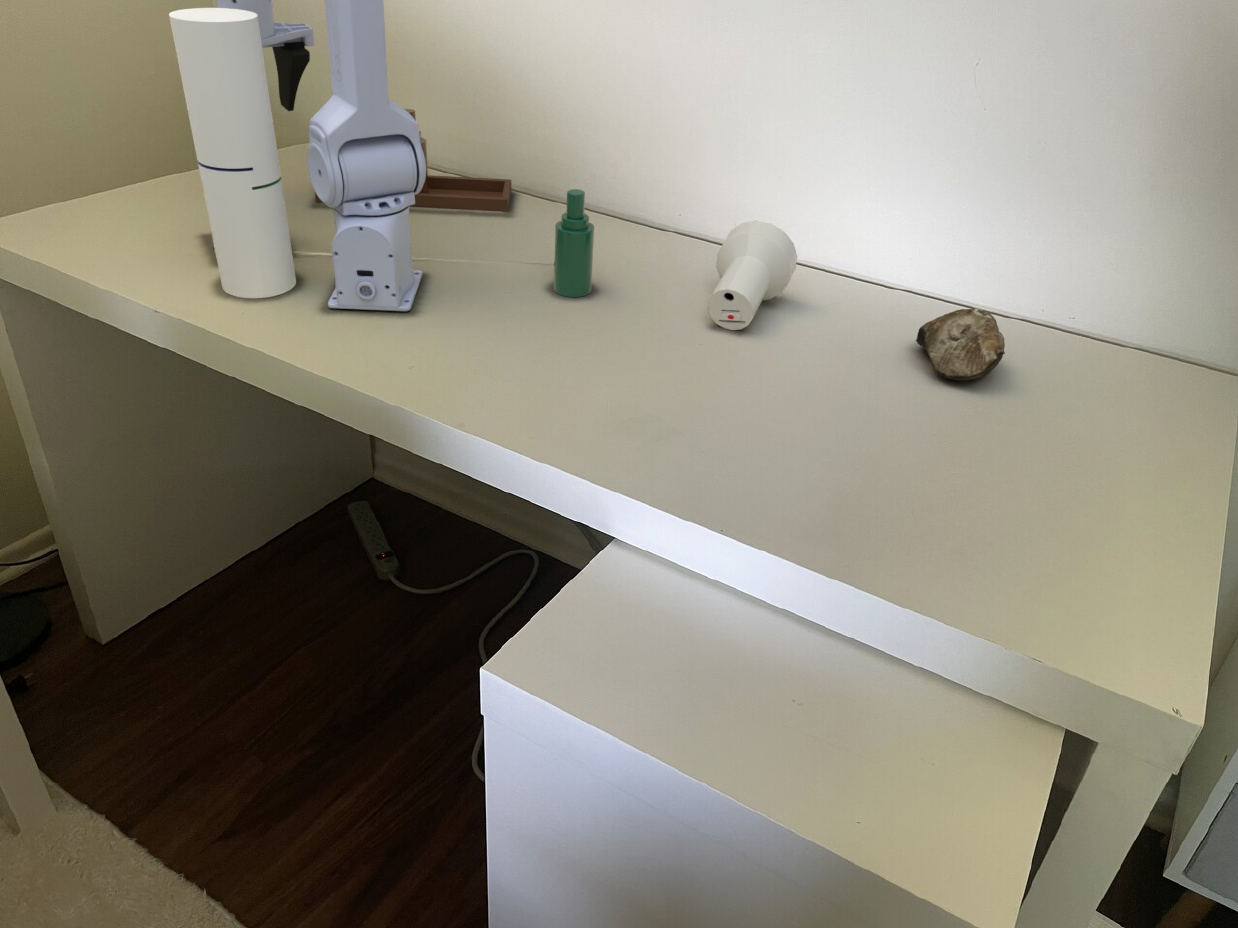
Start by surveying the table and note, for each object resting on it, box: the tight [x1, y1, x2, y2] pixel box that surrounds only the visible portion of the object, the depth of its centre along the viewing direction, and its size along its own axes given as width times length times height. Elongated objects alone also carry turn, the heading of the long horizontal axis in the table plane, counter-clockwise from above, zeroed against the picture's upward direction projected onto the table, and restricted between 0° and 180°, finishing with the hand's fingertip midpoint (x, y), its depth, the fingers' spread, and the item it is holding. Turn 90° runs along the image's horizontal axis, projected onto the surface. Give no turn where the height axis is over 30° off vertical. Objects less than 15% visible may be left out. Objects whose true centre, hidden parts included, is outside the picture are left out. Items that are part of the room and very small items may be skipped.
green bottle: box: [553, 188, 595, 298], centre depth 94 cm, size 4×4×10 cm
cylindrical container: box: [168, 7, 297, 299], centre depth 86 cm, size 7×7×25 cm
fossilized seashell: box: [915, 308, 1006, 381], centre depth 87 cm, size 8×7×10 cm
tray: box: [314, 174, 512, 213], centre depth 117 cm, size 8×24×2 cm, turn 92°
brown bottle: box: [403, 108, 429, 194], centre depth 114 cm, size 4×4×10 cm
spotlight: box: [707, 220, 798, 331], centre depth 93 cm, size 8×11×8 cm
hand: (256, 111), depth 108 cm, fingers open, 7 cm apart
